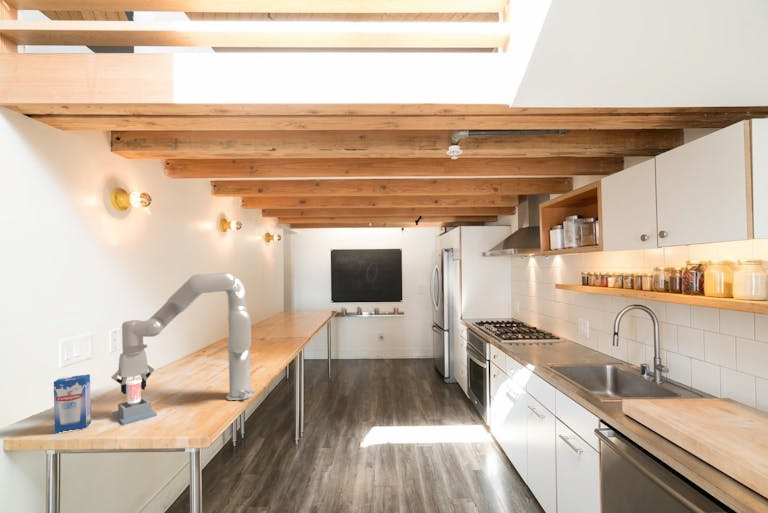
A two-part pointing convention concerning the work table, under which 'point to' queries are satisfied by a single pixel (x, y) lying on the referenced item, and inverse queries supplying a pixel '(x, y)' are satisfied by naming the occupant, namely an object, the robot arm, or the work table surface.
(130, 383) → the beverage cup
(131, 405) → the grey cup holder
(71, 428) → the blue white food package
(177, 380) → the work table surface
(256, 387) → the work table surface
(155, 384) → the work table surface
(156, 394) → the work table surface
